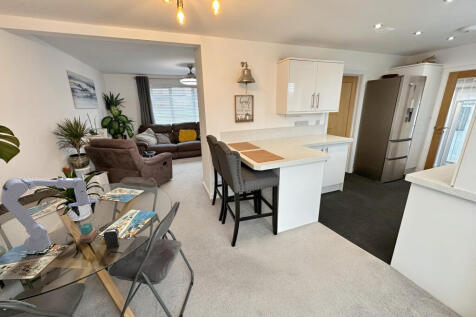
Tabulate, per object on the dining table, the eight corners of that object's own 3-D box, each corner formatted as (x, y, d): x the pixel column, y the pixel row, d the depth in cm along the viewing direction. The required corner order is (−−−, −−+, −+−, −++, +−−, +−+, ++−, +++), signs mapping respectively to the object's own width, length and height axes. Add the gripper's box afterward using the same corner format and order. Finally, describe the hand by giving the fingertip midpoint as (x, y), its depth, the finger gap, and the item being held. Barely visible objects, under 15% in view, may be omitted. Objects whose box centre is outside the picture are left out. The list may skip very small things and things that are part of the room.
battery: (121, 242, 113) (118, 226, 109) (119, 246, 110) (116, 231, 106) (108, 243, 111) (105, 228, 108) (105, 248, 108) (102, 232, 104)
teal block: (81, 234, 111) (80, 227, 110) (85, 230, 115) (84, 223, 114) (89, 234, 112) (87, 227, 111) (92, 229, 116) (91, 223, 114)
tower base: (79, 243, 111) (78, 240, 111) (86, 235, 118) (85, 232, 117) (91, 242, 112) (90, 239, 111) (98, 234, 119) (97, 231, 118)
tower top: (80, 239, 111) (79, 236, 110) (86, 232, 117) (85, 229, 116) (91, 238, 112) (90, 235, 111) (96, 231, 118) (95, 228, 117)
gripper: (65, 201, 110) (70, 220, 114) (94, 196, 117) (99, 214, 121) (68, 196, 116) (73, 214, 120) (96, 191, 123) (100, 209, 127)
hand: (86, 214), depth 121 cm, fingers open, 7 cm apart
